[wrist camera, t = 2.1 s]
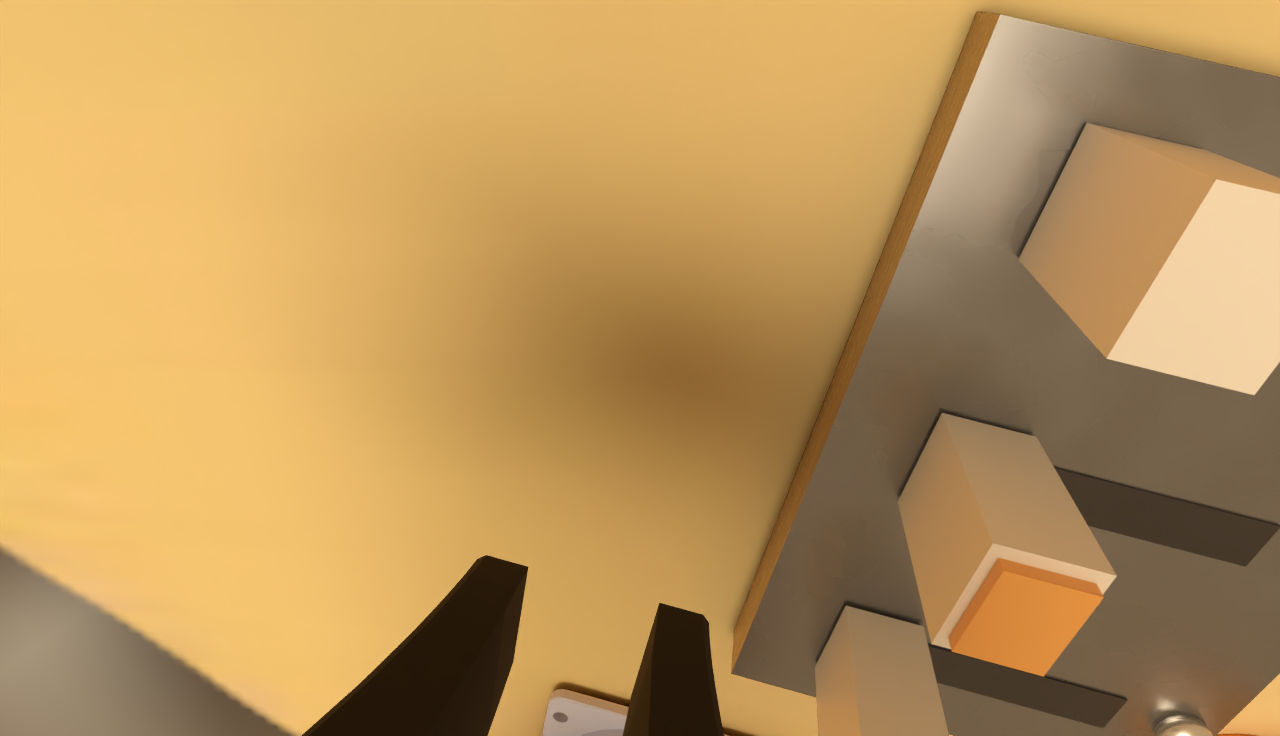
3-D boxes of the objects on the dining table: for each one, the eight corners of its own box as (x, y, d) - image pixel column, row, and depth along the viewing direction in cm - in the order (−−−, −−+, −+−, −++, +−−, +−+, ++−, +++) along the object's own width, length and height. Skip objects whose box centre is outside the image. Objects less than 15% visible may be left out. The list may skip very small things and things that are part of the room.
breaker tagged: (984, 524, 16) (1047, 688, 12) (897, 501, 16) (934, 657, 12) (1036, 436, 15) (1125, 589, 11) (941, 412, 15) (997, 556, 11)
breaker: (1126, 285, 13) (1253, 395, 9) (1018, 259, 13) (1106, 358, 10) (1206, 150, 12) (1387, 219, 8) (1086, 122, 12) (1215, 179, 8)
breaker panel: (1133, 741, 21) (1164, 806, 19) (733, 631, 21) (730, 685, 19) (1669, 167, 12) (1810, 195, 10) (977, 11, 13) (1007, 15, 11)
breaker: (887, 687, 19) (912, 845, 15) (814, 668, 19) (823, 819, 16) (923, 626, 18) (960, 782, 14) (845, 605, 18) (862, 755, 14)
